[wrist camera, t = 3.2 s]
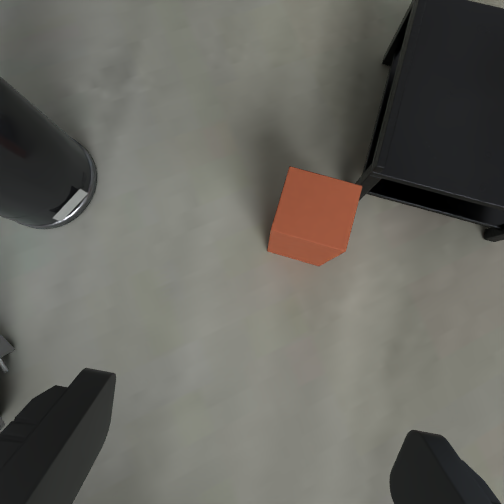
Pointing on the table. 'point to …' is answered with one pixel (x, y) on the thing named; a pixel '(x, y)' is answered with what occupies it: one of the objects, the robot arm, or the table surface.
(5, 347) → the voltmeter
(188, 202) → the table surface
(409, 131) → the tray
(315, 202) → the block
